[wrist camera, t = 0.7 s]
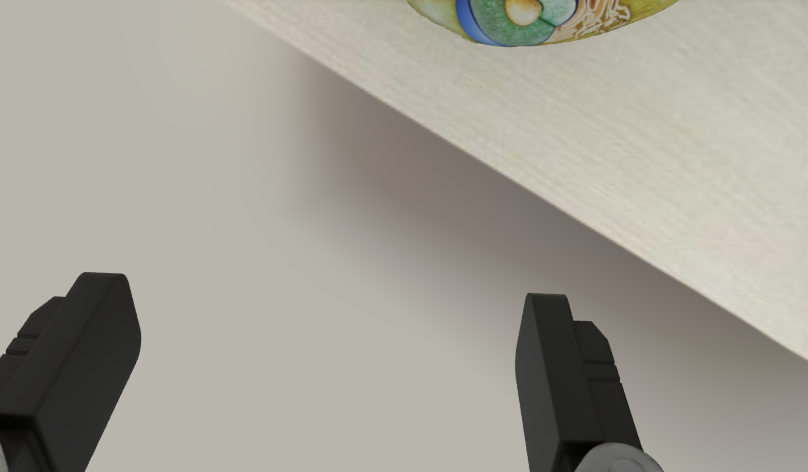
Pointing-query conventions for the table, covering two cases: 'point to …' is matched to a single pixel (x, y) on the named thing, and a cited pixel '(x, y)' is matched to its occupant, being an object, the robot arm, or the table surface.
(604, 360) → the robot arm
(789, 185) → the table surface
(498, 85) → the table surface
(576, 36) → the cell model
